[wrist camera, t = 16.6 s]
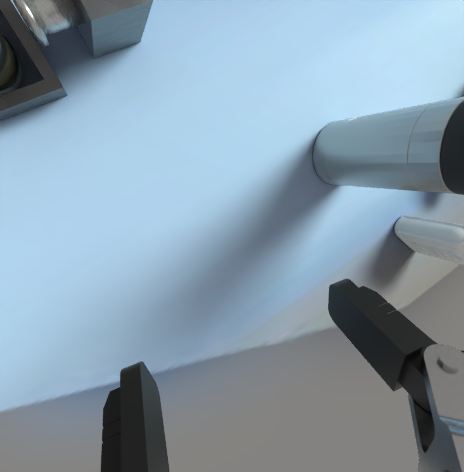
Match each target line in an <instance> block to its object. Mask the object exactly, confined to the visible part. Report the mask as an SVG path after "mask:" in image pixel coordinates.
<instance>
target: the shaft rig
mask: <svg viewBox="0 0 464 472" xmlns="http://www.w3.org/2000/svg"><path fill="white" fill-rule="evenodd" d="M13 2H14V4H15V5H16V7H17V9H18V11H19V12H20V14H21V16H22V17H23V19H24V21H25V22H26V24H27V26H28V27H29V29H30V31H31V32H32V34H33V36H34V37H35V39H37V40H38V42H39V43H40V45H41V46H42V47H45V46H48V45H50V44H49V42H48V40H47V38H46V36H47V35H50V34H53V33H56V32H59V31H62V30H65V29H68V28H71V27H74V26H77V28H78V30H79V32H80V34H81V35H82V37H83V39H84V41H85V43H86V45H87V46H88V48H89V50H90V52H91V54H92V56H93V57H94V59H95V58H97V57H100V56H103V55H106V54H108V53H111V52H114V51H117V50H119V49H122V48H125V47H128V46H130V45H133V44H136V43H138V42H140V41H141V38H142V35H143V32H144V28H145V25H146V22H147V18H148V15H149V12H150V9H151V5H152V2H153V0H13ZM0 9H1V11H2V13H3V14H4V16H5V17H6V19H7V21H8V22H9V24H10V25H11V27H12V29H13V30H14V32H15V33H16V35H17V37H18V38H19V40H20V41H21V43H22V45H23V46H24V48H25V49H26V51H27V53H28V54H29V56H30V57H31V59H32V60H33V62H34V64H35V65H36V67H37V68H38V70H39V72H40V73H41V75H42V76H43V78H44V80H42V81H39V82H36V83H33V84H31V85H28V86H25V87H23V88H20V89H17V90H14V91H12V92H9V93H6V94H3V95H1V96H0V121H2V120H5V119H7V118H10V117H13V116H15V115H18V114H20V113H23V112H25V111H28V110H30V109H33V108H36V107H38V106H41V105H43V104H46V103H48V102H51V101H54V100H56V99H59V98H61V97H64V96H66V95H67V94H66V92H65V90H64V88H63V86H62V84H61V83H60V81H59V79H58V78H57V76H56V74H55V73H54V71H53V70H52V68H51V66H50V65H49V63H48V61H47V60H46V58H45V56H44V55H43V53H42V51H41V50H40V48H39V46H38V45H37V43H36V42H35V40H34V38H33V37H32V35H31V33H30V32H29V30H28V28H27V27H26V25H25V23H24V22H23V20H22V19H21V17H20V15H19V14H18V12H17V10H16V9H15V7H14V5H13V4H12V2H11V0H0Z"/></svg>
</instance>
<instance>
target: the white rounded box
mask: <svg viewBox="0 0 464 472" xmlns="http://www.w3.org/2000/svg"><path fill="white" fill-rule="evenodd" d="M394 229H395V233H396V235H397V236H398V237H399V238H400V239H401V240H402V241H403V242H404V243H405V244H406V245H407V246H409V247H410V248H411V249H412V250H414V251H416V252H418V253H422V254H425V255H429V256H433V257H437V258H440V259H444V260H448V261H451V262H455V263H459V264H462V265H464V226H463V225H459V224H453V223H447V222H441V221H436V220H429V219H423V218H417V217H411V216H403V217H401V218H400V219H399V220H398V221H397V222H396V225H395V228H394Z"/></svg>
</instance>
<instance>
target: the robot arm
mask: <svg viewBox="0 0 464 472" xmlns="http://www.w3.org/2000/svg"><path fill="white" fill-rule="evenodd" d="M313 162H314V166H315V169H316V172H317V174H318V175H319V177H320V178H321V179H322V180H323V181H324V182H326V183H328V184H334V185H347V186H358V187H371V188H385V189H398V190H412V191H425V192H440V193H453V194H463V195H464V97H459V98H454V99H449V100H444V101H439V102H434V103H429V104H424V105H419V106H414V107H408V108H403V109H398V110H393V111H388V112H383V113H377V114H372V115H367V116H362V117H356V118H351V119H346V120H341V121H336V122H332V123H330V124H328V125H327V126H326V127H325V128H323V129H322V131H321V132H320V134H319V135H318V137H317V139H316V142H315V145H314V151H313ZM328 310H329V314H330V316H331V318H332V320H333V321H334V323H335V324H336V325H337V326H338V327H339V328H340V330H341V331H342V332H343V333H344V334H345V335H346V337H347V338H348V339H349V340H350V341H351V342H352V344H353V345H354V346H355V347H356V348H357V349H358V351H359V352H360V353H361V354H362V355H363V356H364V358H365V359H366V360H367V361H368V362H369V363H370V364H371V366H372V367H373V368H374V369H375V370H376V372H377V373H378V374H379V375H380V376H381V377H382V379H383V380H384V381H385V382H386V383H387V384H388V386H389V387H390V388H391V389H392V390H393V391H396V390H397V389H399V388H401V387H403V388H404V389H405V390H406V391H407V392H408V400H409V405H410V411H411V416H412V421H413V426H414V432H415V438H416V443H417V449H418V457H419V463H418V472H464V351H460V350H458V349H456V348H454V347H451V346H448V345H444V344H437V343H436V342H434V341H433V340H432V339H430V338H429V337H428V336H427V335H426V334H425V333H423V332H422V331H421V330H420V329H419V328H418V327H416V326H415V325H414V324H413V323H412V322H411V321H410V320H408V319H407V318H406V317H405V316H404V315H403V314H401V313H400V312H399V311H397V310H396V308H394V307H393V306H392V305H391V304H390V303H387V301H386V300H385V299H384V298H383V297H382V296H380V295H379V294H378V293H377V292H375V291H373V290H371V289H369V288H367V287H365V286H362V287H357V286H356V285H355V284H354V283H353V282H352V281H351V280H349V279H344V280H342V281H339V282H337V283H334V284H332V285H330V287H329V303H328ZM120 386H121V387H119V388H117V389H115V390H112V391H110V393H109V395H108V398H107V401H106V403H105V406H104V409H103V431H102V441H103V444H102V455H101V472H169V464H168V456H167V449H166V441H165V433H164V425H163V418H162V410H161V402H160V396H159V391H158V387H157V385H156V382H155V380H154V379H153V378H152V376H151V374H150V372H149V371H148V369H147V367H146V366H145V364H144V363H143V362H142V361H141V362H139V363H136V364H134V365H131V366H129V367H127V368H124V369H122V370H121V373H120Z"/></svg>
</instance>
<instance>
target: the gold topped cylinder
mask: <svg viewBox="0 0 464 472" xmlns="http://www.w3.org/2000/svg"><path fill="white" fill-rule="evenodd" d="M21 77H22V67H21V63H20V61H19V58H18V56H17V54H16V52H15V50H14V49H13V47H12V46H11V44H10V43H9V42H8V40H7V39H6V38H5V37H4V36H3V35H2V33H1V32H0V95H3V94H6V93H9V92H11V91H13V90H14V89H15V88H16V87H17V86H18V85H19V83H20V81H21Z"/></svg>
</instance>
